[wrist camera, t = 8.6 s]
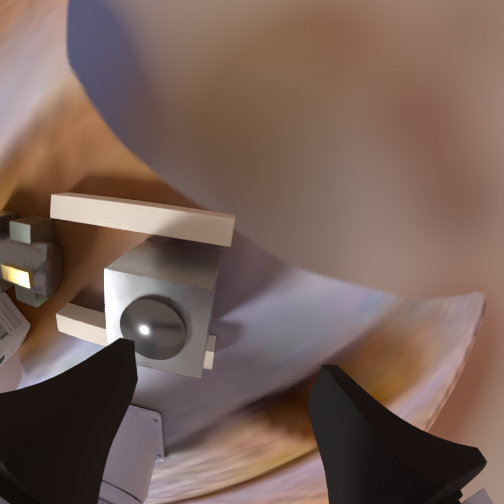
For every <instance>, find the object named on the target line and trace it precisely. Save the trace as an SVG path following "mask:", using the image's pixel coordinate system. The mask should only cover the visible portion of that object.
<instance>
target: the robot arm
mask: <svg viewBox="0 0 504 504" xmlns="http://www.w3.org/2000/svg"><path fill="white" fill-rule="evenodd" d="M137 381H138V377H137V367H136V355H135V341H133V340H128V339H124V338H119V339H117V340H115V341H114V342H112V343H111V344H109V345H108V346H106V347H105V348H103V349H102V350H100V351H99V352H97V353H96V354H94V355H92V356H91V357H89V358H88V359H86V360H85V361H83V362H81V363H79V364H78V365H76V366H74V367H72V368H70V369H69V370H67V371H65V372H63V373H61V374H59V375H57V376H55V377H53V378H50V379H48V380H46V381H43V382H41V383H38V384H35V385H32V386H28V387H25V388H22V389H19V390H15V391H10V392H5V393H0V504H143V502H144V501H145V500H146V498H147V495H148V490H149V485H150V481H151V476H152V472H153V468H154V463H155V460H157V461H164V459H165V457H164V446H163V434H162V419H161V414H160V413H158V412H155V411H151V410H147V409H143V408H139V407H135V406H132V405H130V403H131V401H132V397H133V394H134V391H135V388H136V384H137ZM308 406H309V414H310V420H311V424H312V428H313V431H314V435H315V438H316V442H317V445H318V448H319V452H320V455H321V458H322V462H323V466H324V470H325V475H326V482H327V488H328V497H329V504H493V502H492V500H491V499H490V497H489V495H488V494H487V492H486V490H485V489H484V488H483V489H481V490H480V491H478V492H477V493H475V494H474V495H472V496H471V497H469V498H468V499H466V500H465V501H464V502H462V503H460V501H459V499H460V498H461V497H462V495H463V494H462V493H461V491H460V490H461V489H462V488H463V487H464V486H465V485H466V484H468V483H469V482H470V481H471V480H472V479H473V478H475V477H476V475H478V474H479V473H480V472H481V471H482V469H483V468H484V467H485V465H486V463H487V461H486V459H485V458H484V456H483V455H482V453H481V452H480V451H479V449H478V448H475V447H471V446H466V445H462V444H457V443H453V442H450V441H447V440H444V439H441V438H439V437H436V436H434V435H431V434H429V433H427V432H425V431H423V430H421V429H419V428H417V427H415V426H413V425H411V424H409V423H408V422H406V421H404V420H403V419H401V418H400V417H398V416H396V415H395V414H394V413H392V412H391V411H389V410H388V409H387V408H385V407H384V406H383V405H381V404H380V403H379V402H378V401H376V400H375V399H374V398H373V397H372V396H370V395H369V394H368V393H367V392H366V391H365V390H364V389H362V388H361V387H360V386H359V385H358V384H357V383H356V382H355V381H354V380H353V379H351V378H350V377H349V376H348V375H347V374H346V373H345V372H344V371H343V370H342V369H340V368H339V367H338V366H337V365H322V366H321V369H320V371H319V374H318V377H317V379H316V382H315V384H314V387H313V389H312V392H311V394H310V396H309V399H308Z"/></svg>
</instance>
